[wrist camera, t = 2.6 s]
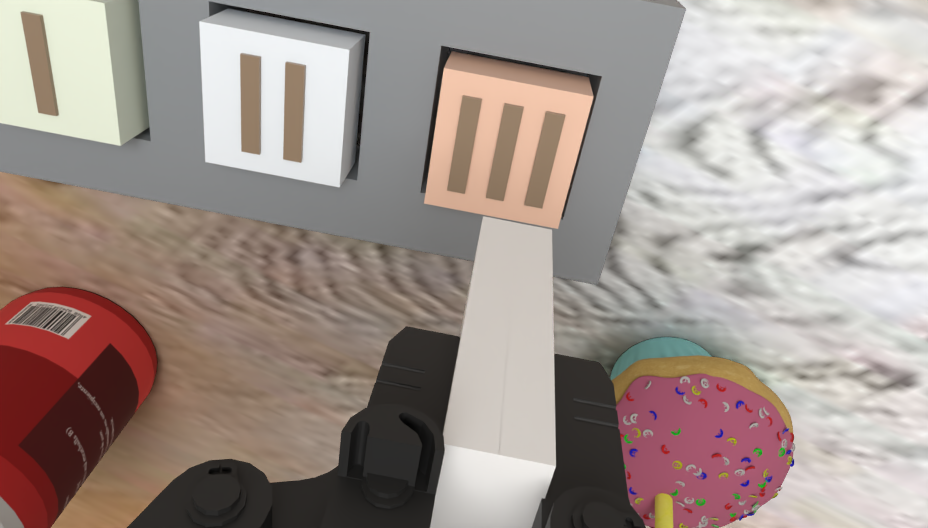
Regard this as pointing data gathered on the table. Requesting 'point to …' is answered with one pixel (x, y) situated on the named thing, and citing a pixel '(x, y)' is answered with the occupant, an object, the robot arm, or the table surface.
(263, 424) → the table surface
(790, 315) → the table surface
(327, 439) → the table surface
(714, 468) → the cupcake
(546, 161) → the tile
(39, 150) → the keypad
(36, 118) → the tile
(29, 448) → the canned food
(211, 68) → the tile
